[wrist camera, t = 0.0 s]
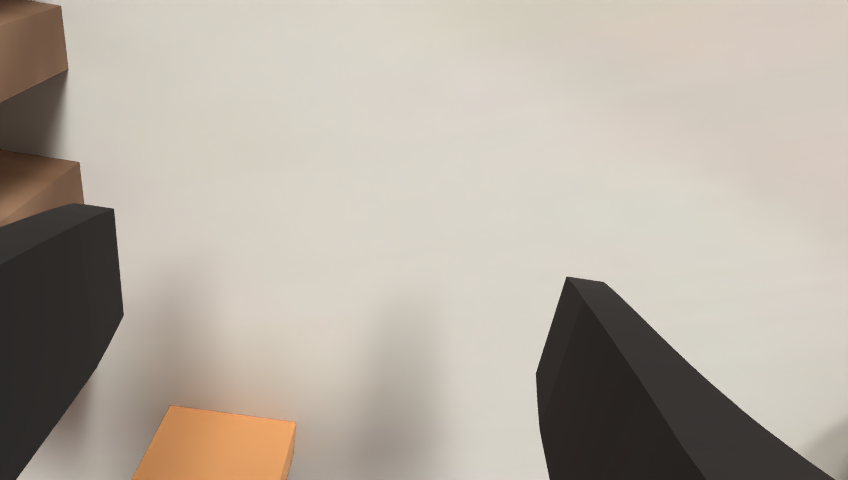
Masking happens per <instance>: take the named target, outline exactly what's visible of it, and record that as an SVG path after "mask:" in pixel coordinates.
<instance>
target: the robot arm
mask: <svg viewBox="0 0 848 480" xmlns="http://www.w3.org/2000/svg"><path fill="white" fill-rule="evenodd" d="M123 315H124V313H123V302H122V292H121V281H120V270H119V259H118V248H117V237H116V226H115V216H114V209H112V208H105V207H98V206H92V205H85V204H78V203H72V204H68V205H64V206H60V207H57V208H53V209H50V210H47V211H44V212H41V213H38V214H35V215H32V216H29V217H27V218H24V219H21V220H18V221H15V222H13V223H10V224H7V225H4V226H2V227H0V480H16V479H17V478H18V476H19V475H20V473H21V472H22V471H23V469H24V468H25V467H26V465H27V464H28V462H29V461H30V460H31V458H32V457H33V456H34V454H35V453H36V451H37V450H38V449H39V447H40V446H41V445H42V443H43V442H44V440H45V439H46V438H47V436H48V435H49V434H50V432H51V431H52V429H53V428H54V427H55V425H56V424H57V423H58V421H59V420H60V418H61V417H62V416H63V414H64V413H65V412H66V410H67V409H68V407H69V406H70V405H71V403H72V402H73V400H74V399H75V398H76V396H77V395H78V393H79V392H80V390H81V389H82V388H83V386H84V385H85V383H86V382H87V381H88V379H89V378H90V376H91V375H92V373H93V372H94V370H95V369H96V368H97V366H98V364H99V362H100V360H101V358H102V357H103V355H104V353H105V351H106V349H107V347H108V346H109V344H110V342H111V340H112V338H113V336H114V334H115V332H116V330H117V328H118V326H119V324H120V322H121V320H122V318H123ZM536 383H537V402H538V415H539V427H540V433H541V438H542V444H543V449H544V453H545V458H546V463H547V468H548V473H549V478H550V480H835V479H833V478H832V477H830V476H829V475H828V474H826V473H825V472H823V471H822V470H820V469H819V468H817V467H816V466H815V465H813V464H812V463H810V462H809V461H808V460H806V459H805V458H804V457H802V456H801V455H800V454H798V453H797V452H796V451H794V450H793V449H792V448H790V447H789V446H788V445H786V444H785V443H784V442H782V441H781V440H780V439H778V438H777V437H776V436H774V435H773V434H772V433H770V432H769V431H768V430H766V429H765V428H764V427H762V426H761V425H760V424H759V423H757V422H756V421H755V420H754V419H752V418H751V417H750V416H749V415H747V414H746V413H745V412H744V411H743V410H741V409H740V408H739V407H738V406H737V405H736V404H734V403H733V402H732V401H731V400H730V399H729V398H727V397H726V396H725V395H724V394H723V393H722V392H720V391H719V390H718V389H717V388H716V387H715V386H713V385H712V384H711V383H710V382H709V381H708V380H707V379H706V378H704V377H703V376H702V375H701V374H700V373H699V372H698V371H697V370H696V369H695V368H694V367H692V366H691V365H690V364H689V363H688V362H687V361H686V360H685V359H684V358H683V357H682V356H681V355H680V354H679V353H678V352H676V351H675V350H674V349H673V348H672V347H671V346H670V345H669V344H668V343H667V342H666V341H665V340H664V339H663V338H662V337H661V336H660V335H659V334H658V333H657V332H656V331H655V330H654V329H653V328H652V327H651V326H650V325H649V324H648V323H647V322H646V321H645V320H644V319H643V318H642V317H641V316H640V315H639V314H638V313H637V312H636V311H635V310H634V309H633V308H631V307H630V306H629V305H628V304H627V303H626V302H625V301H624V300H623V299H622V298H621V297H620V296H619V295H618V294H617V293H616V292H615V291H614V290H612V289H611V288H610V287H609V286H608V285H607V284H605V283H604V282H600V281H593V280H586V279H580V278H573V277H566V280H565V283H564V286H563V289H562V293H561V296H560V299H559V302H558V305H557V308H556V312H555V315H554V318H553V321H552V324H551V327H550V331H549V334H548V337H547V340H546V343H545V346H544V350H543V353H542V356H541V359H540V362H539V365H538V369H537V372H536Z"/></svg>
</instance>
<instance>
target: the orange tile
mask: <svg viewBox="0 0 848 480" xmlns="http://www.w3.org/2000/svg"><path fill="white" fill-rule="evenodd" d="M295 427H296V422H290V421H282V420H275V419H267V418H260V417H253V416H245V415H238V414H230V413H223V412H216V411H208V410H201V409H193V408H186V407H179V406H171V405H170V407H169V409H168V411H167V413H166V415H165V417H164V419H163V420H162V422H161V424H160V426H159V428H158V430H157V432H156V434H155V436H154V438H153V439H152V441H151V443H150V445H149V447H148V449H147V451H146V453H145V455H144V457H143V458H142V460H141V462H140V464H139V466H138V468H137V470H136V472H135V474H134V476H133V478H132V479H131V480H287V476H288V472H289V468H290V465H291V461H292V457H293V452H294V440H295Z"/></svg>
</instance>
